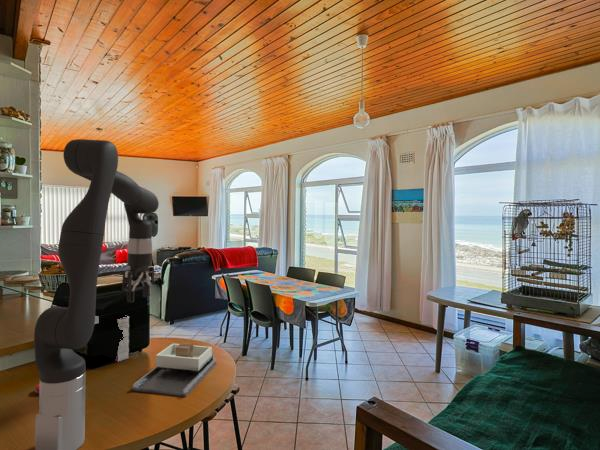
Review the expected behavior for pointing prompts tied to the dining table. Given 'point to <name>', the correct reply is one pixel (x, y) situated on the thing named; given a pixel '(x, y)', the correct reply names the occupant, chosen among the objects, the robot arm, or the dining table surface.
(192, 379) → the dark rimmed tray
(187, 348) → the light brown block
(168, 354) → the white box on tray
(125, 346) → the candy bar box
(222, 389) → the dining table surface
